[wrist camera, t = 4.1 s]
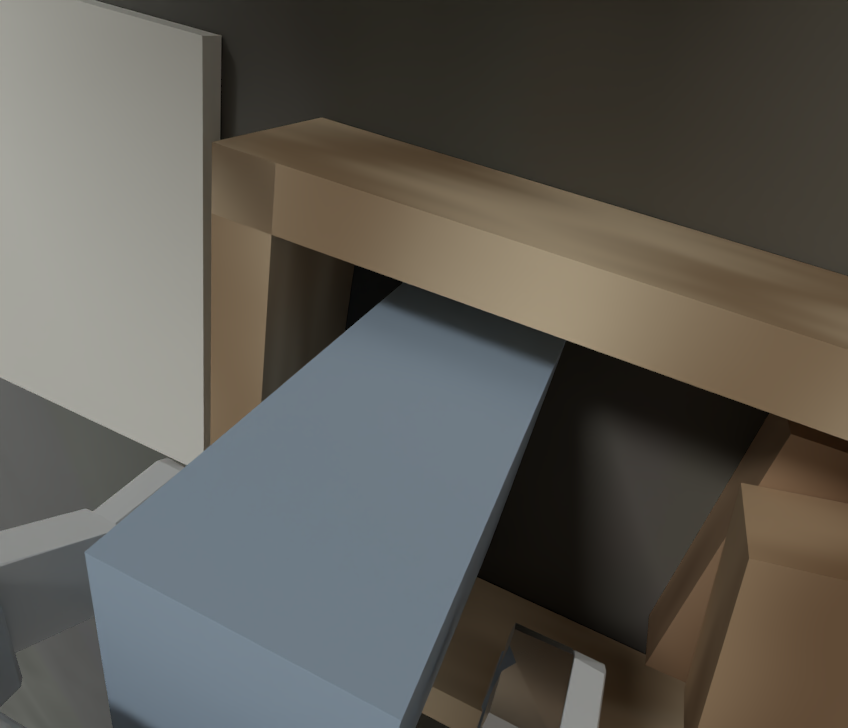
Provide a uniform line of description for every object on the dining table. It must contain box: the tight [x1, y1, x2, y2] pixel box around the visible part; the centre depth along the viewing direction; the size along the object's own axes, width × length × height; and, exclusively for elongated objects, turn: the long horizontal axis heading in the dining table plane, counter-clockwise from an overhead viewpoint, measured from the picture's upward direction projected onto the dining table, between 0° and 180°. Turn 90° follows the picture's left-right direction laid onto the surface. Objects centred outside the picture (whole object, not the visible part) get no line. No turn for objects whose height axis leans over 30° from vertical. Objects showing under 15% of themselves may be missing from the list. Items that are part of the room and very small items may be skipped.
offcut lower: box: [645, 413, 848, 683], centre depth 13 cm, size 5×7×2 cm
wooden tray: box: [210, 117, 848, 728], centre depth 12 cm, size 18×12×4 cm, turn 78°
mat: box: [0, 0, 222, 465], centre depth 17 cm, size 9×12×1 cm
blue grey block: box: [85, 282, 566, 728], centre depth 11 cm, size 4×7×9 cm, turn 168°
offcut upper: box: [684, 483, 848, 728], centre depth 11 cm, size 4×6×2 cm
